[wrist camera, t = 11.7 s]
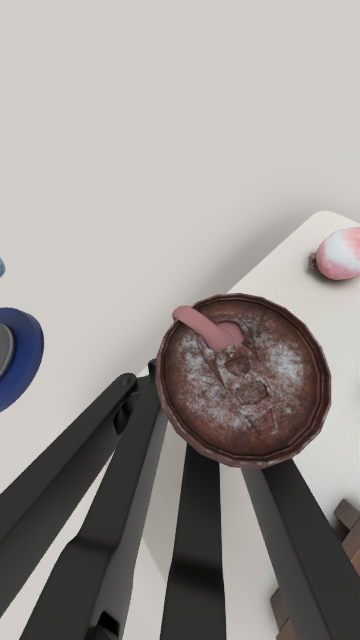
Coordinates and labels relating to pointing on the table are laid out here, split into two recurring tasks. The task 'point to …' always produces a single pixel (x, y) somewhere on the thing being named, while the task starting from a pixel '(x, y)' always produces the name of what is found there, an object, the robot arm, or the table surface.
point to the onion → (339, 255)
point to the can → (243, 380)
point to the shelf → (356, 547)
